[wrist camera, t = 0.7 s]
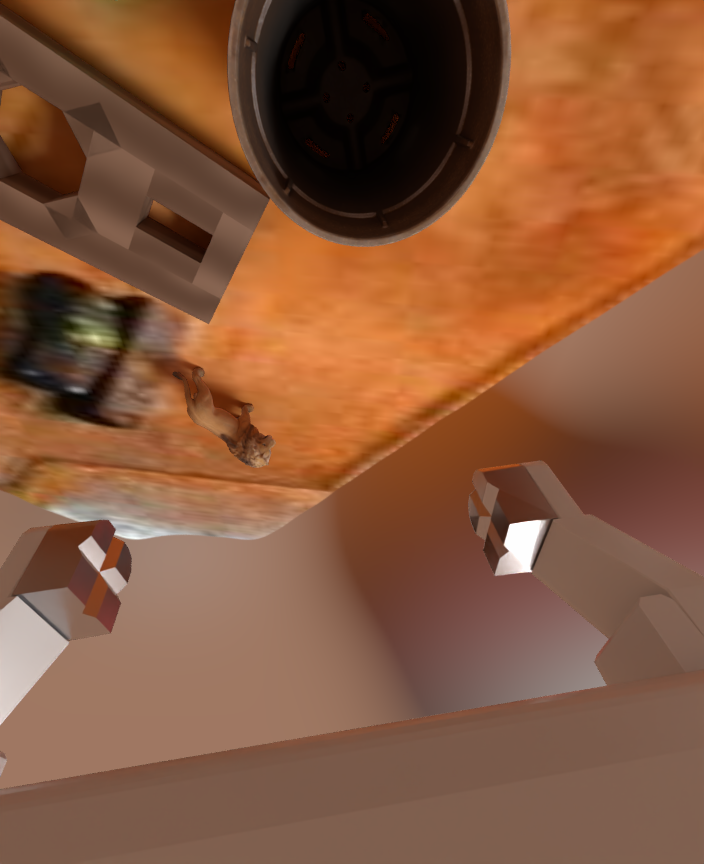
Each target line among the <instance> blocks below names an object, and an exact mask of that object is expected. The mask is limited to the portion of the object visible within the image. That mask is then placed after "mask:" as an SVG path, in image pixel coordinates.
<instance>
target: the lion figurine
mask: <svg viewBox="0 0 704 864" xmlns="http://www.w3.org/2000/svg"><path fill="white" fill-rule="evenodd" d="M173 376H175V377H177V378H178V379H180V380H182V381H183V382H184V387H185V397H186V402H187V406H188V407H187V412H188V415H189V416H190V418H191V419H192V420H193V421H194V422H195V423H196V424H197V425H200V426H202V427H204V428H206V429H208V430H209V431H211V432H212V433H214V434H215V435H216V436H218V437H219V438H221V439H222V440H223V441H225V442H226V443H227V446H228V447H229V450H230V452H231V453H232V454H234V456H235V457H237V458H238V459H239V460H240V461H242V462H243V463H245V464H246V465H249V466H251V467H257V468H258V467H262V466H265V465H269V464H268V462H269V459H270V455H271V451H270V450H271V448H272V447H273V446H274V445H275V444H276V442H275V440H274V439H273V438H272V436H270V435H267V436H264V435H263V434H261V433H259V432H258V429H257V428H256V427H254V426H253V425H251V424H250V415H249V413H250V412H252V411H253V409H254V407H253V405H251V404H247V405H245V406H244V407H242V414H241V416H239V418H235V417H234V416H233V415H232V414H230V413H229V412H227V411H225V410H223V409H221V408H215V407H214V405H213V398H212V395H211V393H210V390H209V388H208V387H207V385H206V384H205V383H204V382H203V380H202V379H201V377H203V376H204V370H203V369H202V368H196V369H194V371H193V372H192V378H193V381H194V382H195V383H196V386H197V390H198V393H194V395H193V396H194V399H192V398H191V394H190V388H189V384H188V382H187V379H186V378H185V377H184V376H183V375H182V374H181V373H179V372H173ZM248 412H249V413H248Z"/></svg>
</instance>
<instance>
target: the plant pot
mask: <svg viewBox="0 0 704 864" xmlns="http://www.w3.org/2000/svg"><path fill="white" fill-rule="evenodd" d="M366 13H368V14H369V15H371V16H372V17H374V18H375V19H376V20H377V21H378V22H379V23H380V24H381V26H382V27H383V28H384V29H385V30H386V32H387V34H388V36H389V38H390V40H389V41H386V40H384V39H383V38H382V37H380V36H379V34H378V33H377V32H376V31H374V30H373V29H372V28H371V27H370V26H369V25H367V24H366V23H364V21H363V16H364V14H366ZM301 33H304V34H305V41H304V43H303V45H302V47H301V49H300V51H299V54H298V56H297V60H296V63H295V67H294V69H292V70H291V69H289V67H288V60H289V57H290V55H291V51H292V49H293V47H294V44H295V42H296V41H297V39H298V37H299V35H300V34H301ZM340 60H342V61H344V62H345V64H346V68H345V70H344V71H340V69H339V68H338V64H339V61H340ZM510 65H511V35H510V23H509V15H508V8H507V2H506V0H236V1H235V5H234V9H233V13H232V18H231V24H230V31H229V39H228V55H227V73H228V89H229V97H230V105H231V110H232V115H233V120H234V123H235V127H236V131H237V134H238V137H239V140H240V143H241V146H242V149H243V151H244V154H245V156H246V158H247V161H248V163H249V165H250V167H251V169H252V171H253V172H254V174H255V176H256V178H257V180H258V181H259V183H260V184H261V186H262V188H263V189H264V190H265V192H266V193H267V194H268V196H269V197H270V198H271V200H272V201H273V202H274V203H275V204H276V205H277V207H278V208H279V209H280V210H281V211H282V212H283V213H284V214H285V215H287V216H288V217H289V218H290V219H291V220H293V221H294V222H295V223H297V224H298V225H299V226H301V227H302V228H304V229H305V230H307V231H309V232H310V233H312V234H314V235H316V236H318V237H320V238H323V239H325V240H328V241H331V242H334V243H338V244H343V245H349V246H358V247H360V246H362V247H369V246H379V245H386V244H390V243H394V242H397V241H400V240H403V239H406V238H408V237H410V236H412V235H414V234H416V233H418V232H420V231H422V230H423V229H425V228H427V227H428V226H430V225H431V224H433V223H434V222H436V221H437V220H438V219H439V218H440V217H442V216H443V215H444V214H445V213H446V212H448V211H449V210H450V209H451V208H452V207H453V206H454V205H455V204H456V202H457V201H458V200H459V199H460V198H461V197H462V195H463V194H464V193H465V192H466V190H467V189H468V188H469V186H470V185H471V184H472V182H473V181H474V179H475V178H476V176H477V174H478V172H479V171H480V169H481V167H482V165H483V164H484V162H485V160H486V158H487V156H488V154H489V152H490V150H491V147H492V145H493V142H494V140H495V137H496V135H497V132H498V129H499V126H500V123H501V119H502V116H503V112H504V107H505V103H506V99H507V92H508V85H509V76H510ZM365 83H368V84H369V85H370V89H369V91H368V92H366V93H365V92H364V90H363V85H364V84H365ZM324 93H328V94H329V96H330V100H329V102H328V103H325V102H324V100H323V94H324ZM396 113H397V114H398V115H399V119H398V122H397V124H396V126H395V128H394V130H393V132H392V133H391V135H390V137H389V138H388V139H387V140H386V141H385V142H384V143H383V144H381V139H382V136H383V135H384V134H385V132H386V130H387V128H388V126H389V125H390V122H391V119H392V117H393V115H394V114H396ZM348 114H352V115H353V118H354V119H353V121H352V122H351V123H349V122H348V121H347V116H348ZM306 138H310V139H312V140H313V143H315V144H317V145H318V146H319V147H320V148H321V149H323V150H324V151H326V152H327V153H329V155H330V157H327V158H324V157H322V156H320V155H319V154H317V153H316V152H315V151H313V150H312V149H311V148H310V147H309V146H308V145H307V144H306V143H305V140H306Z"/></svg>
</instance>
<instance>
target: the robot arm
mask: <svg viewBox="0 0 704 864" xmlns="http://www.w3.org/2000/svg"><path fill="white" fill-rule="evenodd" d="M472 482H473V484H474V486H475V488H476V489H475V490H474V491H473V492H472V493H471V494H470V497H469V503H468V507H469V516H470V520H471V523H472V526H473V528H474V531H475V533H476V534H477V535H478V536H480V537H481V538H483V539H484V540H485V545H484V549H483V551H484V553H485V556H486V558H487V560H488V562H489V564H490V567H491V569H492V571H493V573H494V576H498V575H506V574H514V573H522V572H530V571H532V574H533V575H534V576H535V577H537V578H538V579H539V580H540V581H542V583H544V584H545V585H546V586H547V587H548V588H549V589H551V590H552V591H553V592H554V593H555V594H557V595H558V596H559V597H560V598H561V599H562V600H564V601H565V602H566V603H567V604H568V605H569V606H571V607H572V608H573V609H574V610H576V611H577V612H578V613H579V614H580V615H581V616H582V617H584V618H585V619H586V620H587V621H588V622H589V623H591V624H592V625H593V626H594V627H595V628H597V629H598V630H599V631H600V632H601V633H602V634H604V635H605V636H606V637H607V638H609V640H608V641H607V642H606V644H605V645H604V646H603V648H602V649H601V650H600V651H599V653H598V654H597V656H596V659H595V664H596V666H597V667H598V670H599V672H600V673H601V675H602V677H603V679H604V681H605V682H606V684H607V686H603V687H597V688H591V689H585V690H579V691H573V692H568V693H562V694H556V695H550V696H544V697H538V698H532V699H527V700H521V701H515V702H510V703H503V704H497V705H491V706H486V707H480V708H474V709H468V710H462V711H456V712H451V713H445V714H438V715H432V716H427V717H421V718H415V719H409V720H403V721H397V722H391V723H385V724H380V725H374V726H368V727H362V728H356V729H350V730H345V731H339V732H333V733H327V734H321V735H316V736H310V737H303V738H297V739H292V740H286V741H280V742H274V743H269V744H262V745H256V746H250V747H245V748H239V749H233V750H227V751H221V752H216V753H210V754H204V755H198V756H192V757H186V758H180V759H174V760H168V761H162V762H157V763H151V764H145V765H139V766H133V767H128V768H121V769H115V770H110V771H104V772H98V773H92V774H86V775H80V776H75V777H69V778H63V779H57V780H51V781H45V782H39V783H34V784H27V785H22V786H16V787H10V788H4V789H0V864H704V577H703V576H701V575H699V574H697V573H696V572H694V571H692V570H690V569H688V568H686V567H685V566H683V565H681V564H679V563H677V562H676V561H674V560H672V559H670V558H669V557H667V556H665V555H663V554H661V553H659V552H658V551H656V550H654V549H652V548H650V547H649V546H647V545H645V544H643V543H642V542H640V541H638V540H636V539H634V538H633V537H631V536H629V535H627V534H625V533H624V532H622V531H620V530H618V529H616V528H614V527H613V526H611V525H609V524H607V523H606V522H603V521H602V520H600V519H598V518H597V517H595V516H593V515H584V514H583V513H582V511H581V510H580V509H579V507H578V506H577V504H576V503H575V502H574V500H573V499H572V498H571V496H570V495H569V494H568V492H567V491H566V490H565V488H564V487H563V486H562V485H561V483H560V481H559V480H558V479H557V477H556V476H555V475H554V474H553V472H552V471H551V469H550V468H549V467H548V465H547V464H546V463H544V462H543V461H535V462H528V463H521V464H512V465H505V466H498V467H491V468H485V469H478V470H476V471H475V473H474V475H473V480H472ZM115 531H116V529H115V528H114V526H113V525H112V524H111V522H110V521H109V520H96V521H87V522H78V523H69V524H60V525H53V526H44V527H35V528H30V529H28V530H27V531H26V532H24V533H23V534H22V535H21V537H20V538H19V540H18V541H17V543H16V545H15V546H14V548H13V550H12V551H11V553H10V554H9V556H8V557H7V559H6V561H5V562H4V564H3V565H2V567H1V569H0V725H1V723H2V722H3V721H4V720H5V719H6V717H7V716H8V715H9V714H10V713H11V712H12V710H13V709H14V708H15V707H16V706H17V704H18V703H19V702H20V701H21V700H22V698H23V697H24V696H25V695H26V694H27V692H28V691H29V690H30V689H31V688H32V686H33V685H34V684H35V683H36V682H37V681H38V679H39V678H40V677H41V676H42V675H43V674H44V672H45V671H46V670H47V669H48V668H49V666H50V665H51V664H52V663H53V662H54V660H55V659H56V658H57V657H58V656H59V654H60V653H61V652H62V651H63V650H64V649H65V648H66V646H67V645H68V644H69V642H68V641H70V640H76V639H82V638H87V637H93V636H99V635H104V634H110V633H111V631H112V628H113V626H114V623H115V620H116V616H117V614H118V611H119V607H120V605H121V602H120V600H119V598H118V596H117V594H118V593H119V591H121V590H122V589H123V588H124V587H125V586H126V585H127V583H128V580H129V577H130V574H131V562H132V561H131V560H132V558H131V554H130V551H129V548H128V547H127V545H126V544H125V542H123V541H121V540H119V539H117V538H115V537H113V536H114V533H115ZM6 761H7V758H6V756H5V754H4V753H3V752H1V751H0V776H1V773H2V771H3V769H4V766H5V764H6Z"/></svg>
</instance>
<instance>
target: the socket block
mask: <svg viewBox="0 0 704 864" xmlns="http://www.w3.org/2000/svg"><path fill="white" fill-rule="evenodd" d="M20 85H22V86H24V87H26V88H27V89H29V90H30V91H32V92H34V93H35V94H37V95H38V96H40V97H41V98H43V99H45V100H46V101H48V102H49V103H51V104H53V105H54V106H56V107H57V108H59V109H60V110H62V111H63V113H64V115H65V117H66V119H67V121H68V123H69V125H70V127H71V129H72V131H73V133H74V135H75V137H76V139H77V141H78V142H79V144H80V146H81V148H82V150H83V152H84V154H85V156H86V157H87V160H86V164H85V168H84V172H83V176H82V180H81V184H80V188H79V191H76V192H72V193H68V194H64V195H62V194H60V193H59V192H57V191H55V190H53V189H51V188H50V187H48V186H46V185H44V184H42V183H41V182H39V181H37V180H35V179H33V178H32V177H30V176H28V175H26V174H24V173H23V172H22V170H21V169H20V167H19V165H18V164H17V162H16V160H15V159H14V157H13V156H12V154H11V152H10V151H9V149H8V147H7V146H6V144H5V143H4V141H3V139H2V138H1V136H0V220H2V221H4V222H6V223H8V224H10V225H12V226H14V227H16V228H18V229H20V230H22V231H24V232H26V233H28V234H30V235H32V236H34V237H36V238H38V239H40V240H42V241H44V242H46V243H48V244H50V245H52V246H54V247H56V248H58V249H60V250H62V251H64V252H66V253H68V254H70V255H72V256H74V257H76V258H78V259H80V260H82V261H84V262H86V263H88V264H90V265H92V266H94V267H96V268H98V269H100V270H102V271H104V272H106V273H108V274H110V275H112V276H114V277H116V278H118V279H120V280H122V281H124V282H126V283H128V284H130V285H132V286H134V287H136V288H138V289H140V290H142V291H144V292H146V293H148V294H150V295H152V296H154V297H156V298H158V299H160V300H162V301H164V302H166V303H168V304H170V305H172V306H174V307H176V308H178V309H180V310H182V311H184V312H186V313H188V314H190V315H192V316H194V317H196V318H198V319H200V320H202V321H204V322H206V323H208V324H209V323H210V321H211V319H212V317H213V315H214V312H215V310H216V308H217V306H218V304H219V302H220V300H221V298H222V296H223V294H224V292H225V290H226V288H227V286H228V284H229V282H230V280H231V278H232V276H233V274H234V271H235V269H236V267H237V265H238V263H239V261H240V259H241V257H242V255H243V253H244V251H245V249H246V247H247V245H248V243H249V241H250V239H251V237H252V235H253V232H254V230H255V228H256V226H257V224H258V222H259V220H260V218H261V216H262V214H263V212H264V210H265V208H266V206H267V204H268V202H269V200H270V197H269V196H268V194H267V193H266V192H265V190H264V189H263V188H262V186H261V184H260V183H259V182H257V181H256V180H254V179H253V178H252V177H250V176H249V175H247V174H246V173H244V172H243V171H241V170H240V169H239V168H237V167H236V166H234V165H233V164H231V163H230V162H228V161H227V160H226V159H224V158H223V157H221V156H220V155H218V154H217V153H216V152H214V151H213V150H211V149H210V148H208V147H207V146H205V145H204V144H203V143H201V142H200V141H198V140H197V139H195V138H194V137H192V136H191V135H190V134H188V133H187V132H185V131H184V130H182V129H181V128H179V127H178V126H177V125H175V124H174V123H172V122H171V121H169V120H168V119H167V118H165V117H164V116H162V115H161V114H159V113H158V112H156V111H155V110H154V109H152V108H151V107H149V106H148V105H146V104H145V103H143V102H142V101H141V100H139V99H138V98H136V97H135V96H133V95H132V94H131V93H129V92H128V91H126V90H125V89H123V88H122V87H120V86H119V85H118V84H116V83H115V82H113V81H112V80H110V79H109V78H107V77H106V76H105V75H103V74H102V73H100V72H99V71H97V70H96V69H95V68H93V67H92V66H90V65H89V64H87V63H86V62H84V61H83V60H82V59H80V58H79V57H77V56H76V55H74V54H73V53H71V52H70V51H69V50H67V49H66V48H64V47H63V46H61V45H60V44H58V43H57V42H56V41H54V40H53V39H51V38H50V37H48V36H47V35H46V34H44V33H43V32H41V31H40V30H38V29H37V28H35V27H34V26H33V25H31V24H30V23H28V22H27V21H25V20H24V19H22V18H21V17H20V16H18V15H17V14H15V13H14V12H12V11H11V10H10V9H8V8H7V7H5V6H4V5H2V4H1V3H0V104H1V96H2V90H5V89H9V88H12V87H16V86H20ZM153 200H155V201H156V202H158V203H160V204H161V205H163V206H165V207H166V208H168V209H170V210H171V211H173V212H175V213H176V214H178V215H180V216H181V217H183V218H185V219H186V220H188V221H190V222H191V223H193V224H195V225H196V226H198V227H200V228H201V229H203V230H205V231H206V232H208V233H210V234H211V235H213V237H212V239H211V242H210V244H209V246H208V248H207V251H206V250H204V249H203V248H201V247H199V246H198V245H196V244H194V243H192V242H191V241H189V240H187V239H186V238H184V237H182V236H180V235H179V234H177V233H175V232H173V231H172V230H170V229H168V228H167V227H165V226H163V225H161V224H160V223H158V222H156V221H154V220H153V219H151V218H149V217H148V214H149V211H150V208H151V205H152V202H153Z"/></svg>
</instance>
